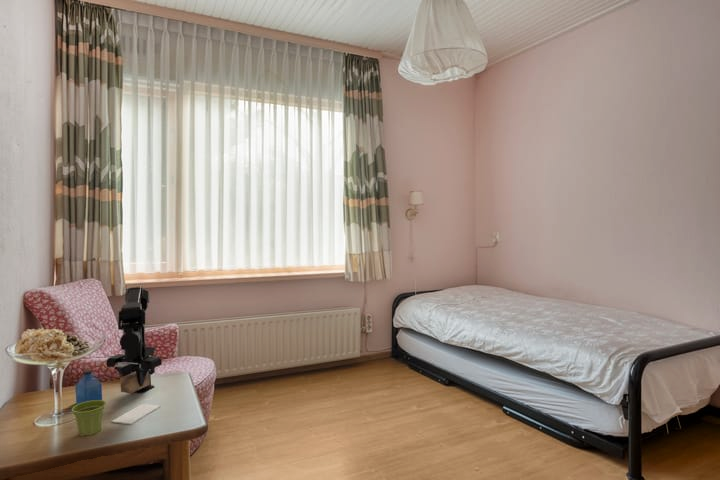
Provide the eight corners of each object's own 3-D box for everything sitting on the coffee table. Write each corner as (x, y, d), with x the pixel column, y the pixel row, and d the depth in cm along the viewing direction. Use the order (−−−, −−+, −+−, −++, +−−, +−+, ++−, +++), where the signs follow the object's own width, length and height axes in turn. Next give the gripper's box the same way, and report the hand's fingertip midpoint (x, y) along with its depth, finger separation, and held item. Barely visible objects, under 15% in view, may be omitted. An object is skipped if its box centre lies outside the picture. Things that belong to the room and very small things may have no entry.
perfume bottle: (76, 403, 166) (74, 372, 165) (92, 396, 172) (90, 366, 171) (85, 405, 163) (84, 374, 163) (102, 399, 169) (100, 369, 168)
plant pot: (98, 422, 149) (97, 397, 149) (112, 429, 144) (111, 403, 143) (68, 433, 142) (66, 407, 141) (81, 441, 136) (79, 414, 136)
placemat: (141, 405, 163) (141, 404, 162) (160, 406, 161) (160, 405, 160) (111, 422, 149) (111, 421, 149) (131, 424, 147) (131, 423, 147)
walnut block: (120, 392, 151) (120, 377, 151) (139, 383, 159) (139, 370, 159) (130, 393, 150) (129, 379, 150) (149, 384, 157) (148, 371, 157)
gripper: (171, 337, 159) (173, 379, 160) (128, 334, 164) (130, 375, 164) (149, 346, 148) (151, 391, 149) (104, 343, 153) (106, 386, 154)
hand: (135, 385), depth 154 cm, fingers closed on walnut block, 5 cm apart
